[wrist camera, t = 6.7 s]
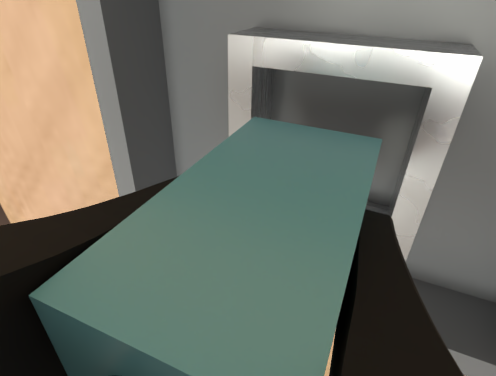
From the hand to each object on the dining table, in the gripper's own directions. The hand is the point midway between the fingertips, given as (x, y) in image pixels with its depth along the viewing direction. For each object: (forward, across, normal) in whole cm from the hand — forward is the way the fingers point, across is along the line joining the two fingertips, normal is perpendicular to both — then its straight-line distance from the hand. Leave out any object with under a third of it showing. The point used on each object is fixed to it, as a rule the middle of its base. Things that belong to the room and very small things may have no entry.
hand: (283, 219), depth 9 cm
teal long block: (+2, 0, 0) cm, 2 cm away
